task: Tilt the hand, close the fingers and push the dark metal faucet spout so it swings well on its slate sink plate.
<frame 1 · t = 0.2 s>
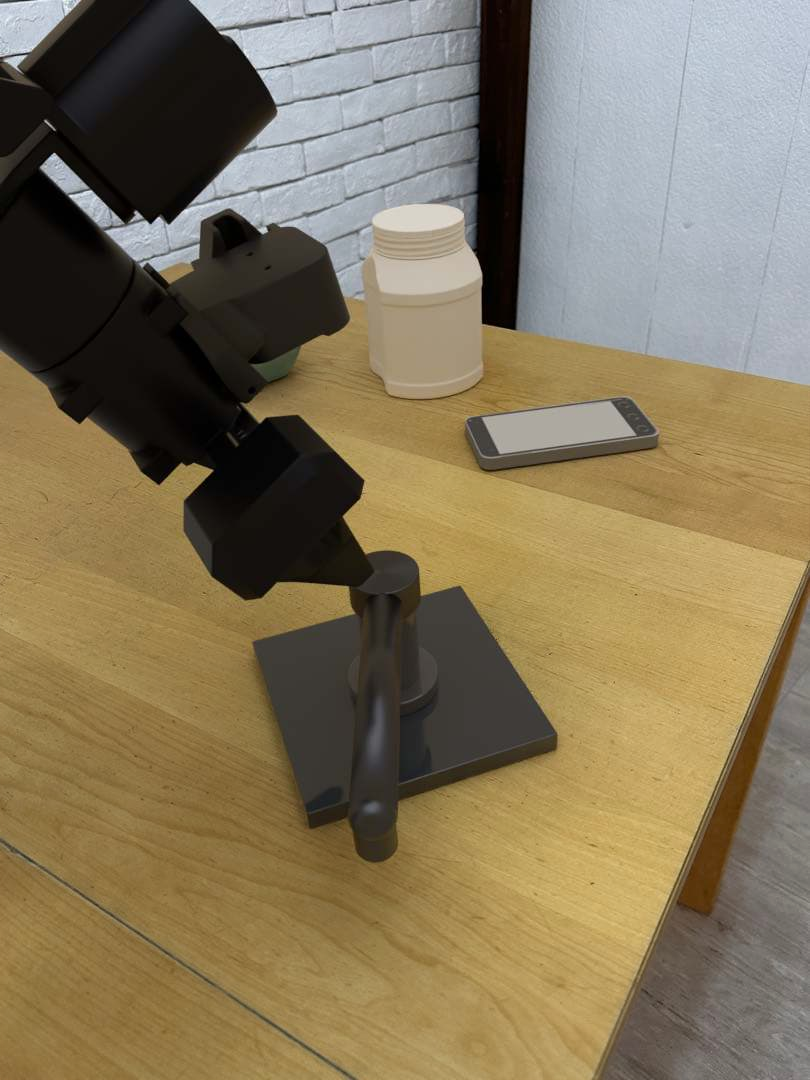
hand: (324, 528, 44), 13 cm above the table, tool tilted 35°, fingers open, 9 cm apart
spout: (380, 683, 43), point 8 cm above the table, hinge at 0.0°
flower pot: (256, 378, 90), on the table
faucet: (395, 698, 53), on the table
jar: (425, 374, 89), on the table
smartphone: (559, 439, 77), on the table
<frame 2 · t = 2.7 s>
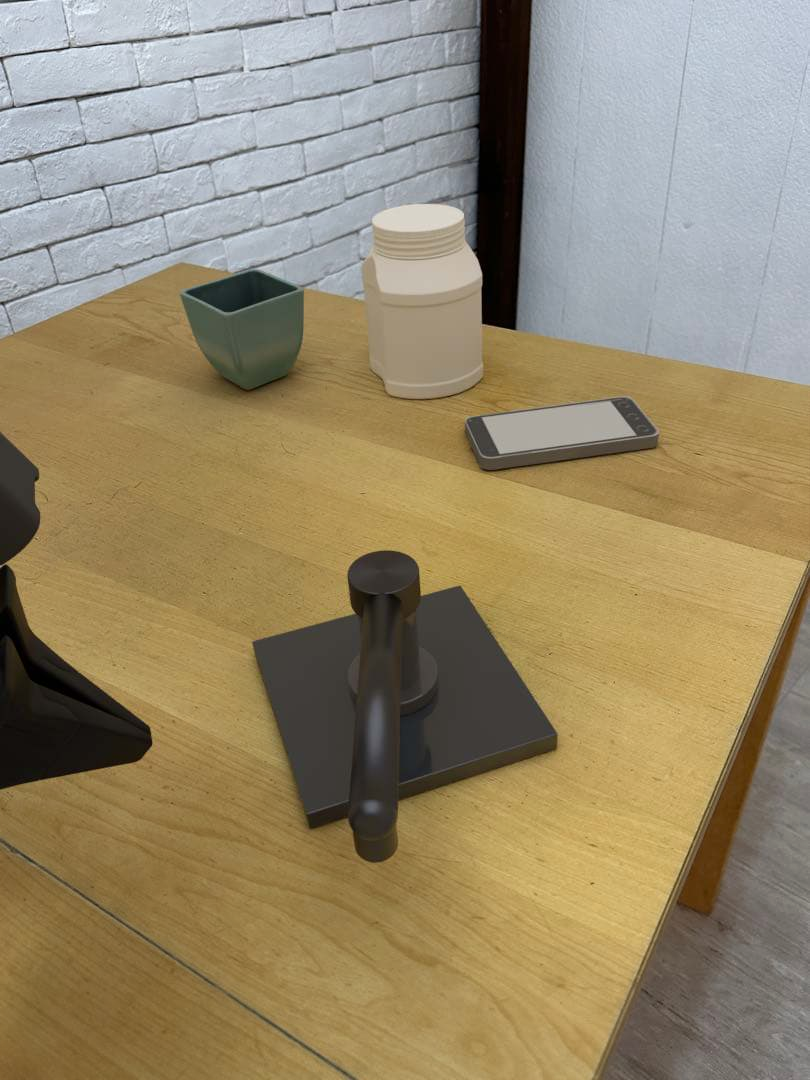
hand: (145, 745, 33), 14 cm above the table, tool tilted 45°, fingers closed
nothing on the table moved.
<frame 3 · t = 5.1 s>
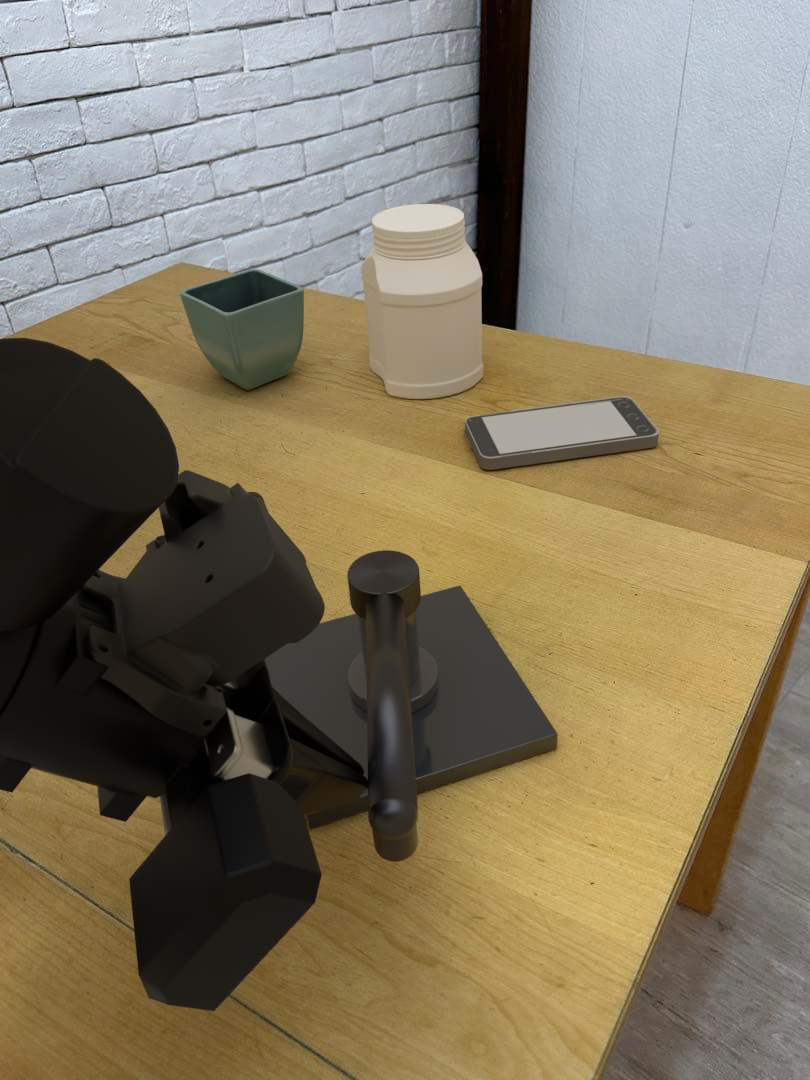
hand: (359, 784, 38), 8 cm above the table, tool tilted 45°, fingers closed
spout: (388, 683, 43), point 8 cm above the table, hinge at 3.2°, touching gripper
everything else where it was.
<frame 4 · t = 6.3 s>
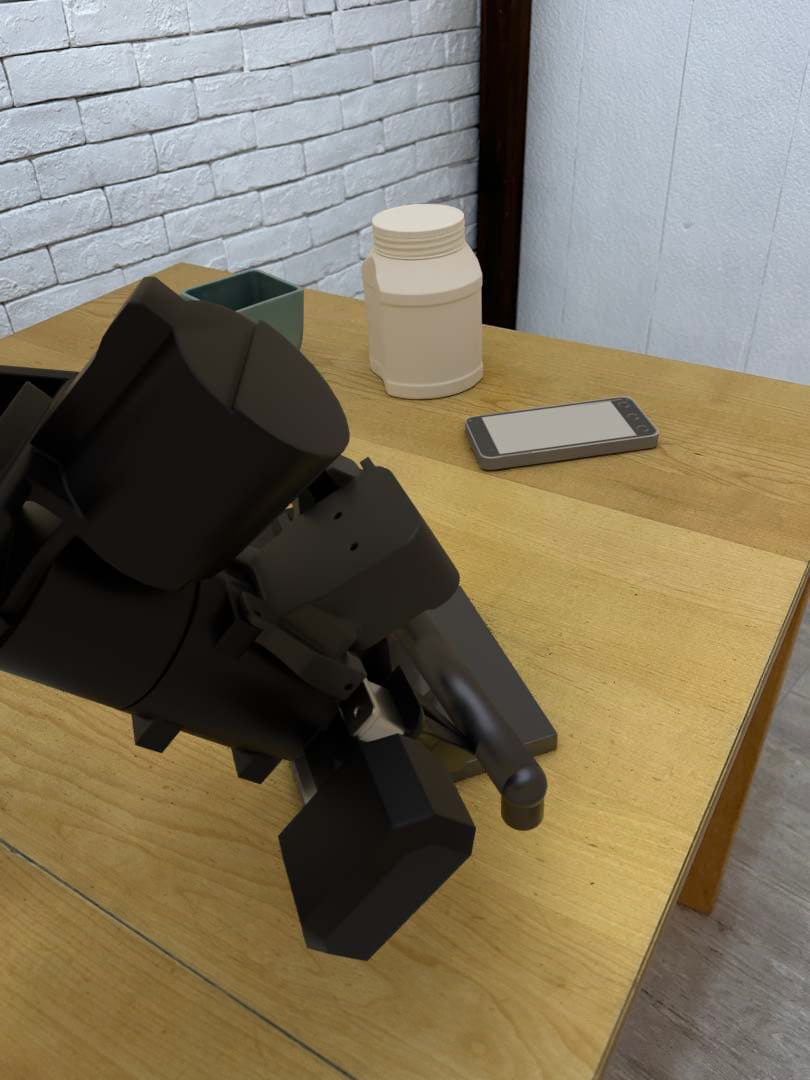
hand: (465, 754, 39), 8 cm above the table, tool tilted 45°, fingers closed
spout: (440, 672, 43), point 8 cm above the table, hinge at 24.7°, touching gripper
everything else where it was.
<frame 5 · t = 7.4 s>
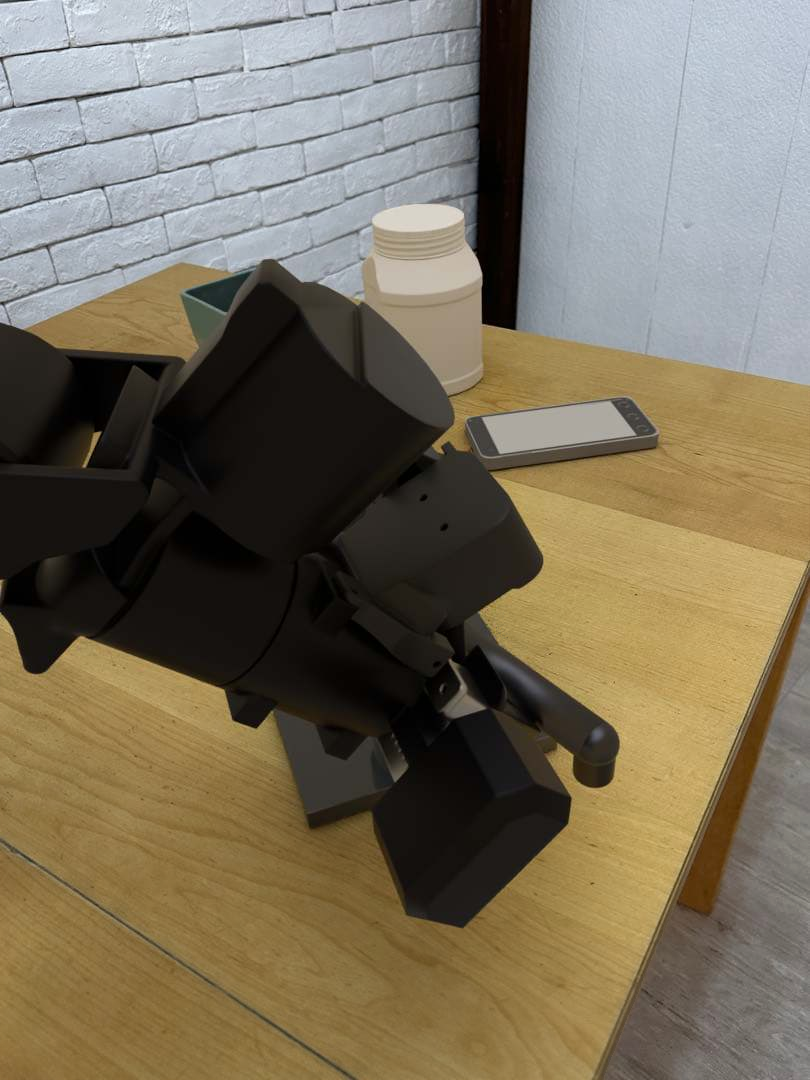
hand: (530, 733, 40), 8 cm above the table, tool tilted 45°, fingers closed
spout: (471, 657, 44), point 8 cm above the table, hinge at 39.8°, touching gripper
everything else where it was.
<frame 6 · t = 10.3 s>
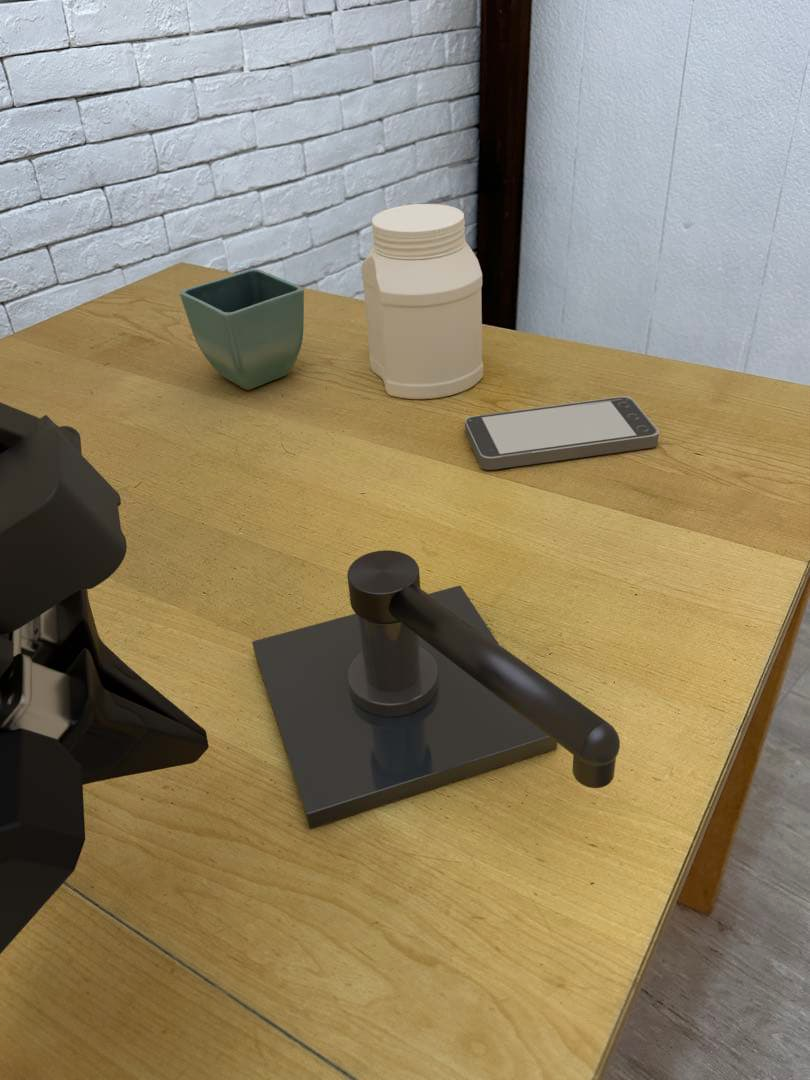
hand: (201, 747, 36), 12 cm above the table, tool tilted 45°, fingers closed
spout: (471, 657, 44), point 8 cm above the table, hinge at 39.8°
everything else where it was.
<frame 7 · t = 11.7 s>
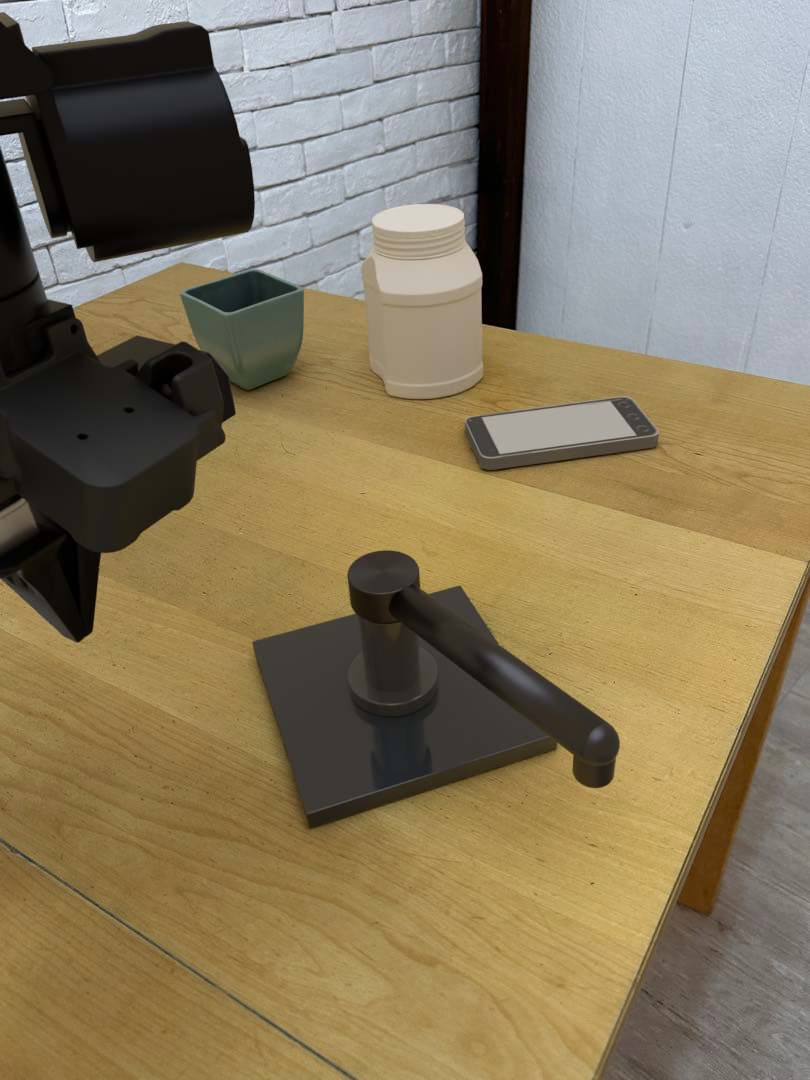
hand: (78, 635, 39), 13 cm above the table, tool pointing down, fingers closed
nothing on the table moved.
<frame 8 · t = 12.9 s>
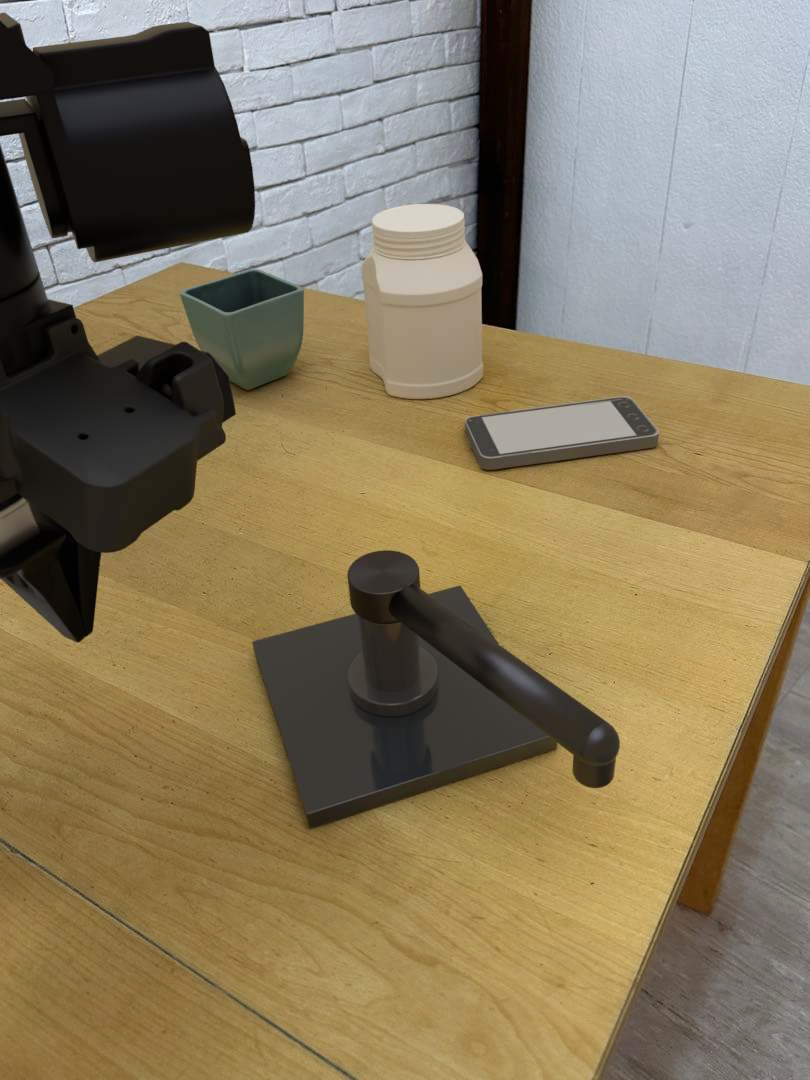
hand: (78, 635, 39), 13 cm above the table, tool pointing down, fingers closed
nothing on the table moved.
at the end: spout at +40° (first picture: +0°) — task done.
